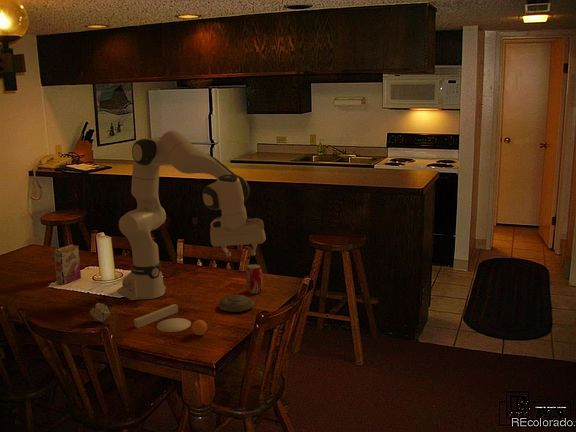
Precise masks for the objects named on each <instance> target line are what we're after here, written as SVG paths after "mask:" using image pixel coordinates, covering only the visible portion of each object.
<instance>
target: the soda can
mask: <svg viewBox="0 0 576 432" xmlns="http://www.w3.org/2000/svg"><path fill="white" fill-rule="evenodd" d="M246 267H247V268H246V271H245V279H246V283H245V284H246V292H248V293H249V294H253V295H257V294H258V295H259V294H260V293H261V292H262V291H263V269H262V267H261V265H260V264H256V263H252V264H248V265H247V266H246Z"/></svg>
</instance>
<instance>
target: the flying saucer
mask: <svg viewBox="0 0 576 432" xmlns="http://www.w3.org/2000/svg"><path fill="white" fill-rule="evenodd" d="M255 305H256V304H255V301H254V300H253V299H252V298H250V297H249V296H246V295H243V294H231V295H227V296H226V297H224V298H222V299H221V300H220V301H219V303H218V304H217V307H218V308H219V309H221V310H222V311H225V312H230V313H240V312H245V311H249V310H251V309H252V308H254V306H255Z"/></svg>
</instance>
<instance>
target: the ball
mask: <svg viewBox="0 0 576 432" xmlns="http://www.w3.org/2000/svg"><path fill="white" fill-rule="evenodd" d="M191 325H192V326H191V331H192V333H194V334H195V336H203V335H205V334H206V332H207V330H208V324H207V322H206V321H205V320H202V319H197V320H195V321H194V322H193V323H192V324H191Z"/></svg>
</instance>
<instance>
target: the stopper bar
mask: <svg viewBox="0 0 576 432" xmlns="http://www.w3.org/2000/svg"><path fill="white" fill-rule="evenodd" d="M176 313H179V306H178V304H176V303H173V304H170V305H168V306H165V307H162V308H161V309H158V310H154V311H151V312H150V313H147V314H145V315H142V316H139V317H137V318H134V319H133V323H134V328H136V329H139V328H142V327H143V326H146V325H149V324H151V323H154V322H156V321H159V320H161V319H164V318H167V317H169V316H172V315H174V314H176Z"/></svg>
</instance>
